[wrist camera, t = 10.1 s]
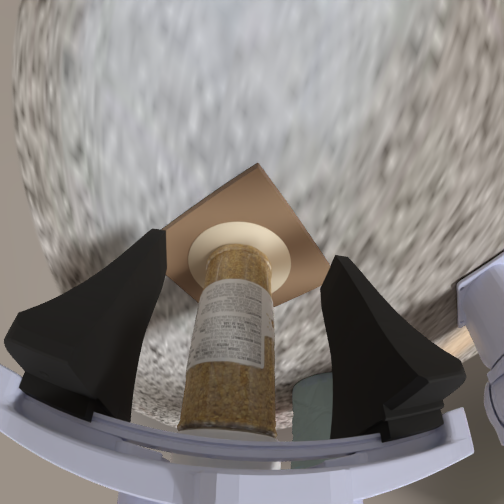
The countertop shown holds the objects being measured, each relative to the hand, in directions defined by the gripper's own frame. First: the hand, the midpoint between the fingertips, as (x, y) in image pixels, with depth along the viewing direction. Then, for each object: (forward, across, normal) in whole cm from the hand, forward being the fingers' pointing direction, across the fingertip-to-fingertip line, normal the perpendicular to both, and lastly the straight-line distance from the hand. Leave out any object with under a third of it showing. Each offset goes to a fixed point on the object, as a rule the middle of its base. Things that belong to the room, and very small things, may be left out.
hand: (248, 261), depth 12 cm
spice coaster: (+6, 0, +5) cm, 8 cm away
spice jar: (+6, 0, +5) cm, 7 cm away
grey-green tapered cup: (+6, -14, +25) cm, 29 cm away
